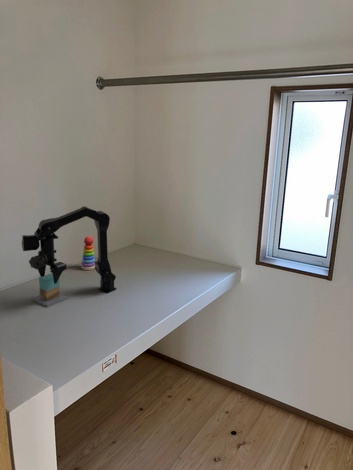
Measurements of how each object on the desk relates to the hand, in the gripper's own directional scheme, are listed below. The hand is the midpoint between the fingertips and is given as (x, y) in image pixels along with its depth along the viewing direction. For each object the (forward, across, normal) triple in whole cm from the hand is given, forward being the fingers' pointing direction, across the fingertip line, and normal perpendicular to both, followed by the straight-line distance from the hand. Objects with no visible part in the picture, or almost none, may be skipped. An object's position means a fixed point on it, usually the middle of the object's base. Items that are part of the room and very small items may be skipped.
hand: (49, 281), depth 172 cm
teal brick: (+3, 0, 0) cm, 3 cm away
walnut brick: (+8, 0, 0) cm, 8 cm away
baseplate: (+9, 0, 0) cm, 9 cm away
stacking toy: (+10, -17, +39) cm, 44 cm away
